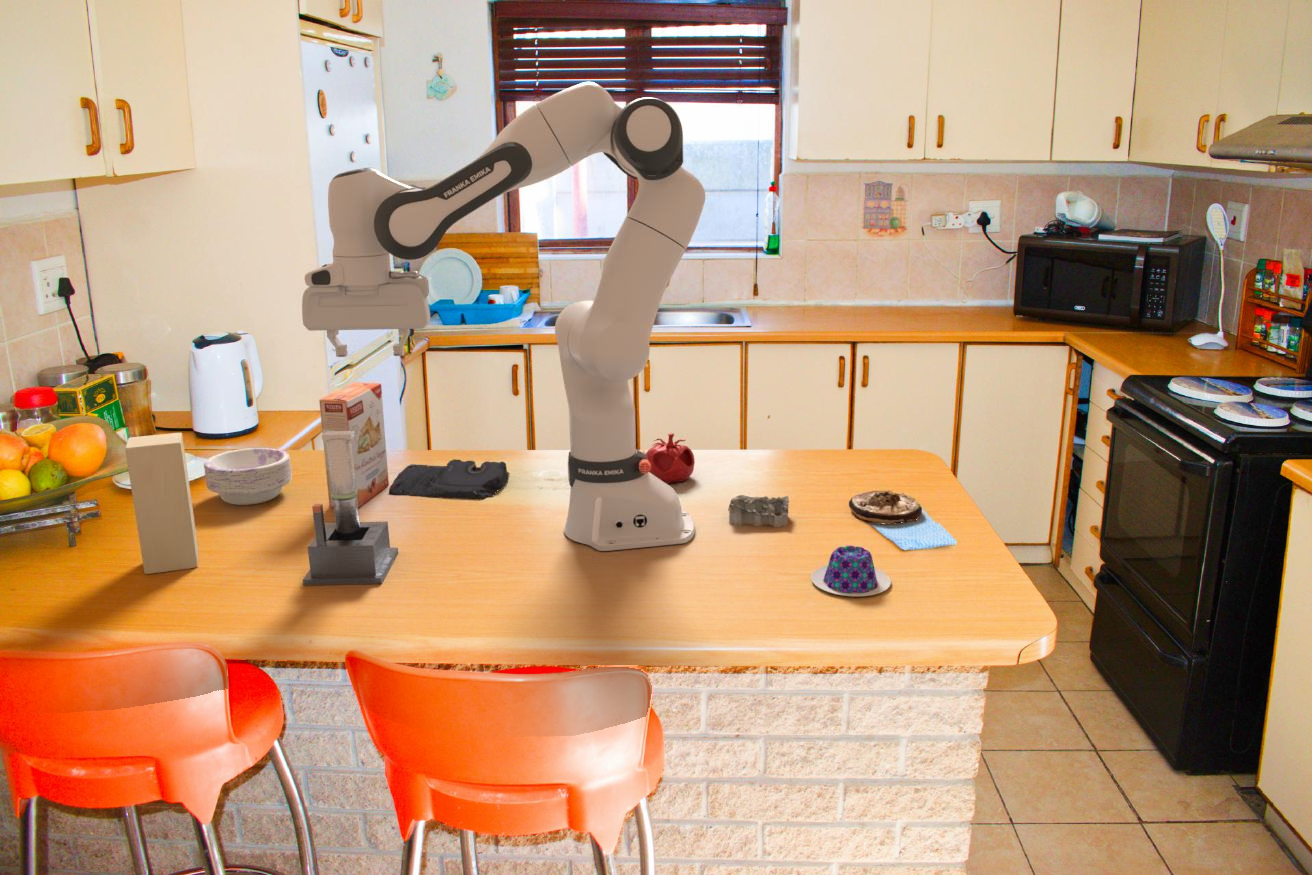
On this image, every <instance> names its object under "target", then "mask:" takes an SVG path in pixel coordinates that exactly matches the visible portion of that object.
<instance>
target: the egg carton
mask: <svg viewBox="0 0 1312 875" xmlns="http://www.w3.org/2000/svg"><path fill="white" fill-rule="evenodd" d="M789 504H790V500H789V496H788V495H786V496H784V497H783V496H782V497H780V496H779V497H778V496H777V498H776V497H773V496H772V497H771V498H770V497H768V496H767V495H765V496H763V497H762V496H754V497H753V496H748V495H745V494H739V495H737V496H735V497H733V498H732V499H731V500H730V502H729V504H728V505H729V506H728V509H727V512H729V514H728V517H729V518H728V520H729V522H728V523H730V524H733V525H734V526H743V525H745V524H746V525H747V524H749V525H750V524H751V525H753V526H754V527H761V526H763V525H771V526H772V527H774V528H781V527H782V526H787V525H788V516H789ZM776 514H780V515H776Z"/></svg>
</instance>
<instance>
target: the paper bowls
mask: <svg viewBox="0 0 1312 875" xmlns="http://www.w3.org/2000/svg"><path fill="white" fill-rule="evenodd" d="M290 457H291V456H290V455H289V453H288V452H287V451H284V450H282V449H277V448H271V447H270V448H269V447H254V448H253V447H252V448H251V447H250V448H241V449H235V450H230V451H225V452H222V453H221V452H220V453H218V454H216V455H213V456H210V457H209V458H207V459H206V460H205V461H204V464H203V468H204V478H205V484H206V488H207V489H208V490H209V491H211V492H212V493H217V494H218V495H219V497H220V498H221V499H222V500H223V501H224V502H225V503H227V504H232V505H236V506H248V505H249V506H250V505H257V504H262V503H266V502H269V501H271V500H273V499H275V498H276V497H278V495H280V493H281V491H282V488H283V487H284V486H286V485H288V484H289V483H290V482H291V481H292V479H293V478H292V467H291V458H290Z"/></svg>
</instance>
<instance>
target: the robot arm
mask: <svg viewBox="0 0 1312 875" xmlns="http://www.w3.org/2000/svg"><path fill="white" fill-rule="evenodd" d="M599 153H602V154H604V156H606V158H607V159H608V160H610V161H611V162H612V163H613V164H614V165H615V166H616V167H617V168H618V169H619V170H620V171H621V172H623V174H625V175H627V176H628V177H630V178H632V179H635V180H637V183H638V190H637V194H636V196H635V199H634V201H633V203H632V205H631V207H630V208H629V211H628V213H627V214H626V217H625V218H624V220H623V222H622V224H621V226H620V228H619V230H618V231H617V233H616V235H615V237H614V239H613V241H612V243H611V245H610V247H609V249H608V251H607V253H606V254H605V256H604V258H603V261H602V273H601V277H600V281H599V284H598V288H597V290H596V294H595V298H594V300H581V301H577V302H573V303H571V304H569V305H567V306H565V308H563V309H562V310H561V312H559V315H558V317H557V318H556V320H555V323H554V324H555V325H554V333H555V338H556V343H557V346H558V352H559V353H558V355H559V360H560V367H561V373H562V379H563V385H564V389H565V394H566V399H567V400H566V401H567V409H568V424H569V444H570V451H569V452H568V455H567V456H568V457H567V478H568V483H569V487H570V492H569V493H570V494H569V503H568V504H569V505H568V511H567V517H566V522H565V525H564V529H563V533H564V535H565V536H566V537H567V538H568V539H570V540H571V541H573V542H576V543H580V544H583V545H587V546H590V547H592V548H593V549H595V550H597V551H600V552H608V551H609V552H610V551H618V550H629V549H639V548H640V549H641V548H648V547H649V548H651V547H660V546H670V545H680V544H686V543H688V542H689V541H691V540H692V539H693V538H694V535H695V532H696V531H695V522H694V519H693V517H692V516H691V514H689V512H687V511H685V510H683V509H682V505H681V502H680V499H679V496H678V494H677V492H676V490H675V489H674V488H673V487H672V486H671V485H670V484H669V483H665V482H663V481H662V480H660V479H659V478H657V477H656V476H654V475H653V474H651V473H650V472H649V471H650V470H651V469H650V468H651V463H650V461H649V460H648V456H647V455H646V453H647V452H645V450H642V451H640V449H637V447H636V445H637V443H636V440H637V438H636V407H635V403H634V399H633V397H632V394H631V390H630V386H629V380H632V379H634V378H635V377H637V376H638V375H639V374H640V373H641V372H642V371H643V370H644V369H645V368H646V366H647V363H648V361H649V358H650V349H651V348H650V339H651V334H652V331H653V329H654V328H653V327H654V324H655V320H656V317H657V314H658V311H659V307H660V304H661V302H662V299H663V296H664V293H665V292H666V289H667V287H668V284H669V283H670V281H671V279H672V277H673V275H674V274H675V271H676V269H677V268H678V265H679V263H680V261H681V260H682V258H683V255H684V254H685V253H686V250H687V248H688V246H689V244H690V242H691V240H692V238H693V236H694V233H695V231H696V229H697V226H698V223H699V221H700V218H701V216H702V213H703V210H704V205H705V203H706V202H705V201H706V191H705V188H704V186H703V184H702V182H701V181H700V180H699V179H698V178H697V177H696V176H695V175H694V174H692V173H691V172H689V171H688V170H686V169H685V168H684V167H683V163H684V131H683V126H682V122H681V119H680V117H679V115H678V113H677V112H676V110H675V109H674V108H673V107H672V106H671V105H670V104H669V103H667V102H666V101H664V100H661V99H660V98H656V97H652V96H651V97H648V96H647V97H641V98H636V99H635V100H632V101H631V102H629V103H627V104H626V105H625V106H624V107H621V106H620V105H618V104H617V103H616V102H615V101H614V99H613V97H612V96H611V93H609V92H608V91H607V90H606V89H605V88H604V87H603V86H601V85H600V84H598V83H595V82H593V81H584V82H580V83H578V84H575V85H572V86H570V87H568V88H565V89H563V90H561V91H560V90H559V91H558V92H556V93H553V94H551V96H548V97H546V98H544V99H542V100H541V101H539V102H537V103H535V104H534V105H532V106H530V107H528V108H527V109H526V110H524V111H523V112H522V113H520V114H519V115H518V116H516V117H515V118H514V119H513V120H511V121H510V122H509V123H508V124H507V125H505V127H504V128H502V130H501V131H500V132H499V133H498V134H497V135H496V137H495V138H494V139H493V141H492V142H491V144H490V145H489V146H488V147H487V148H486V149H485V150H484V151H483V153H481V154H480V155H479V156H478V157H476V158H475V159H474V160H472V161H471V162H470V163H469V164H466V166H465V165H464V166H463V167H462V168H460V169H458V170H457V171H456V172H453V173H452V174H450V175H449V176H447V177H445V178H444V179H442V180H440V181H439V182H437V183H436V184H433V185H431V186H430V187H429V186H428V187H426V188H423V189H421V188H418V187H414V186H411V185H407V184H404V183H401V182H400V181H397V180H395V179H393V178H390V177H389V176H387V175H385V174H384V173H382V172H381V171H379V170H378V169H377V168H376V167H375V168H374V167H363V168H358V169H353V170H348V171H344V172H340V173H338V174H336V175H335V176H334V177H333V178H332V179H331V180H330V182H329V186H328V192H327V206H328V207H327V208H328V209H327V211H328V222H329V228H330V231H331V234H332V237H333V248H332V263H330V262H329V263H326V264H323V265H321V266H320V267H317V268H315V269H312V270H310V271H308V272H307V273H305V275H304V283H305V285H306V286H307V288H306V289H305V290H304V292H303V294H302V298H301V299H302V300H301V315H302V317H301V318H302V324H303V326H304V327H305V328H306V329H307V331H312V332H313V331H314V332H315V331H326V338H327V339H328V340H329V342H330V344H332V346H333V348H335V356H336V358H343V357H344V358H346V357H347V356H348V355H349V354H348V345H347V344H342V342H341V341H340V339H339V338H338V335H339V333H340V331H357V330H359V331H364V330H365V331H366V330H368V331H370V330H375V331H376V330H397V331H398V336H401V338H400V340H399V341H398V342H399V343H395V344H393V346H392V350H393V356H394V357H404V356H405V353H406V352H405V344H406V342H407V339H408V338H409V336H410V334H411V330H415V329H417V330H418V329H420V330H423V329H425V328H426V327H427V326H428V325H429V324H430V322H431V311H430V306H429V300H428V298H427V297H428V296H429V294H430V287H429V280H428V278H427V277H426V276H425V275H424V274H422V273H419V271H416V270H411V271H401V270H400V271H396V270H395V271H393V270H392V268H391V258H390V257H391V256H393V257H396V258H398V259H401V260H406V261H407V260H408V261H410V260H411V261H412V260H419V259H422V258H424V257H426V256H428V255H430V254H431V253H432V252H433V251H434V250H435V248H437V246H438V245H439V243H440V242H441V241H442V238H443V237H444V235H445V234H446V232H447V231H448V230H449V229H450V228H451V227H452V226H454V225H455V224H456V223H458V222H459V221H460V220H461V219H463V218H464V217H466V216H468V215H470V214H471V213H473V212H474V211H476V210H478V209H480V208H481V207H482V206H484V205H485V204H487V203H489V202H491V201H492V200H494V199H495V198H497V197H499V196H501V195H503V194H506V193H508V192H511V191H514V190H517V189H520V188H525V187H529V186H531V185H535V184H538V183H540V182H543V181H545V180H548V179H550V178H553V177H555V176H556V175H558V174H560V173H563V172H565V171H566V170H568V169H569V168H571V167H573V166H575V165H576V164H578V163H579V162H581V161H582V160H584V159H586V158H588V157H589V156H592V155H595V154H599ZM390 255H391V256H390Z"/></svg>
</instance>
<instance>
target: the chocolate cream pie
mask: <svg viewBox="0 0 1312 875" xmlns="http://www.w3.org/2000/svg"><path fill="white" fill-rule="evenodd" d="M893 491H894V490H893V489H891V490H872V491H867V492H866V491H865V492H862V493H858V494H856V495H854V496H853V497H851V498H850V499H849V502H848V506H849V509H850V511H851V512H852V514H853V515H854V518H856V519H858V520H862V521H863V522H865V523H871V524H872V523H873V524H876V523H901V522H905V523H908V522H907V521H909V522H912V521H915V522H917V521H918V520H916V519H917V518H918V517H919V518H921V515H922V512H923V509H922V508H923V507H922V506H921V504H920V503H919V501H917V500H916V498H913V497H912V496H910V495H907V494H905V493H904V492H901V494H900V493H896V492H895V493H894V492H893ZM919 518H918V519H919ZM911 520H912V521H911Z"/></svg>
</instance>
